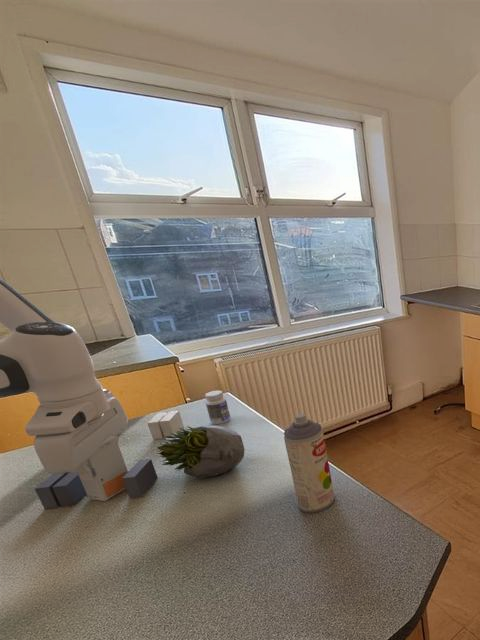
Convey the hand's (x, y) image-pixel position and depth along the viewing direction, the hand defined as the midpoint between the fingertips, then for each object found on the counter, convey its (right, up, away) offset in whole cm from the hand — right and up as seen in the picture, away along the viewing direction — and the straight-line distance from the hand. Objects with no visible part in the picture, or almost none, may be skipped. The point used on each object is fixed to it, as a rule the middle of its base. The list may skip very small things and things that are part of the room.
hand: (101, 467), depth 88 cm
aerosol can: (+44, -8, 0) cm, 45 cm away
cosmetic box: (0, -6, +2) cm, 6 cm away
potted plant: (+15, -3, +9) cm, 18 cm away
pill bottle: (+2, +7, +33) cm, 33 cm away
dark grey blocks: (-1, -6, +2) cm, 6 cm away
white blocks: (-13, +4, +24) cm, 27 cm away
